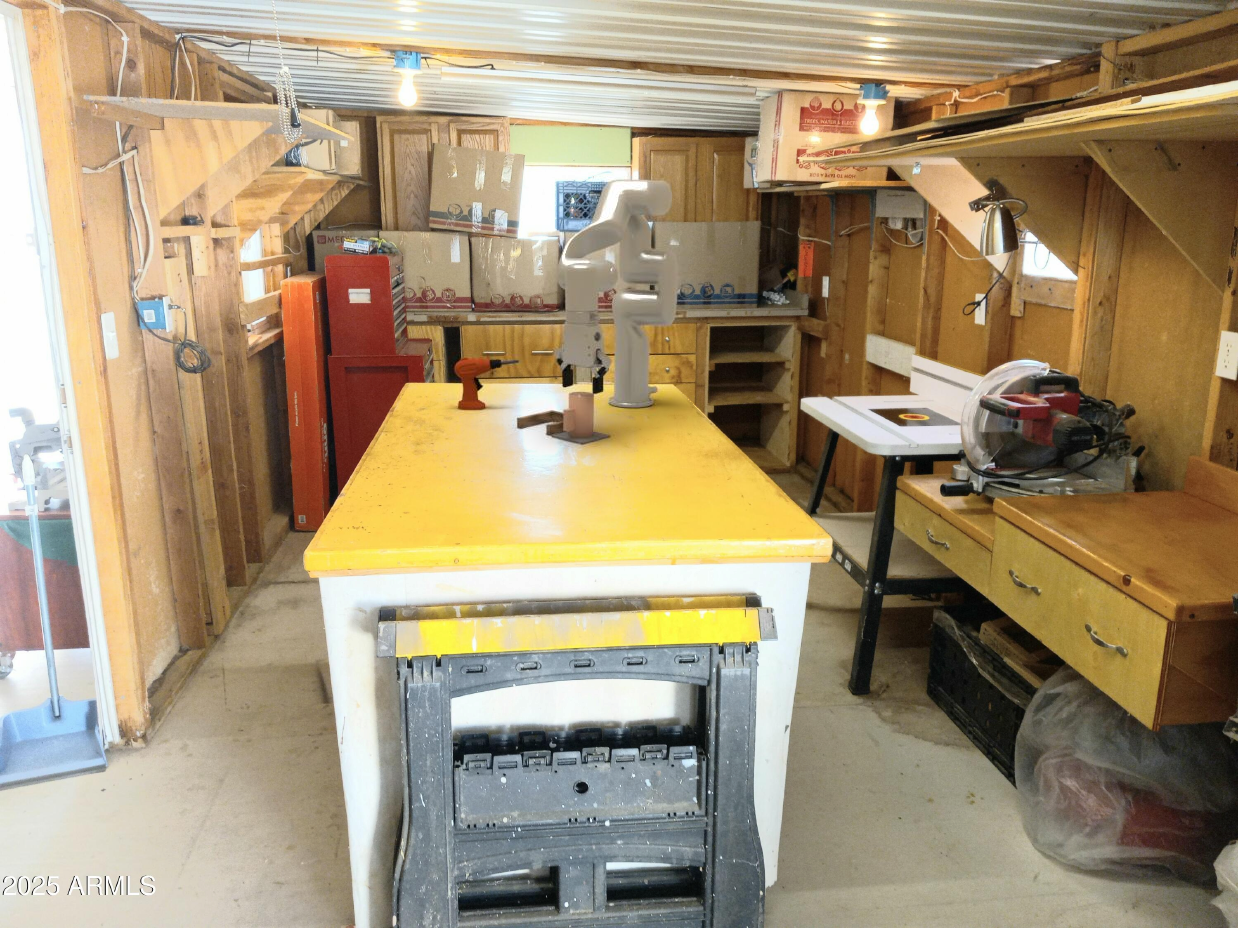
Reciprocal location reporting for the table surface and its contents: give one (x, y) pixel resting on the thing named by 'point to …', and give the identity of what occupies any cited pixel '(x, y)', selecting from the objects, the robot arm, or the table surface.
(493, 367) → the toy drill
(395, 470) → the table surface
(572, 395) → the pink mug
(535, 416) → the brown wooden u-shaped piece
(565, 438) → the mat
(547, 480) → the table surface
